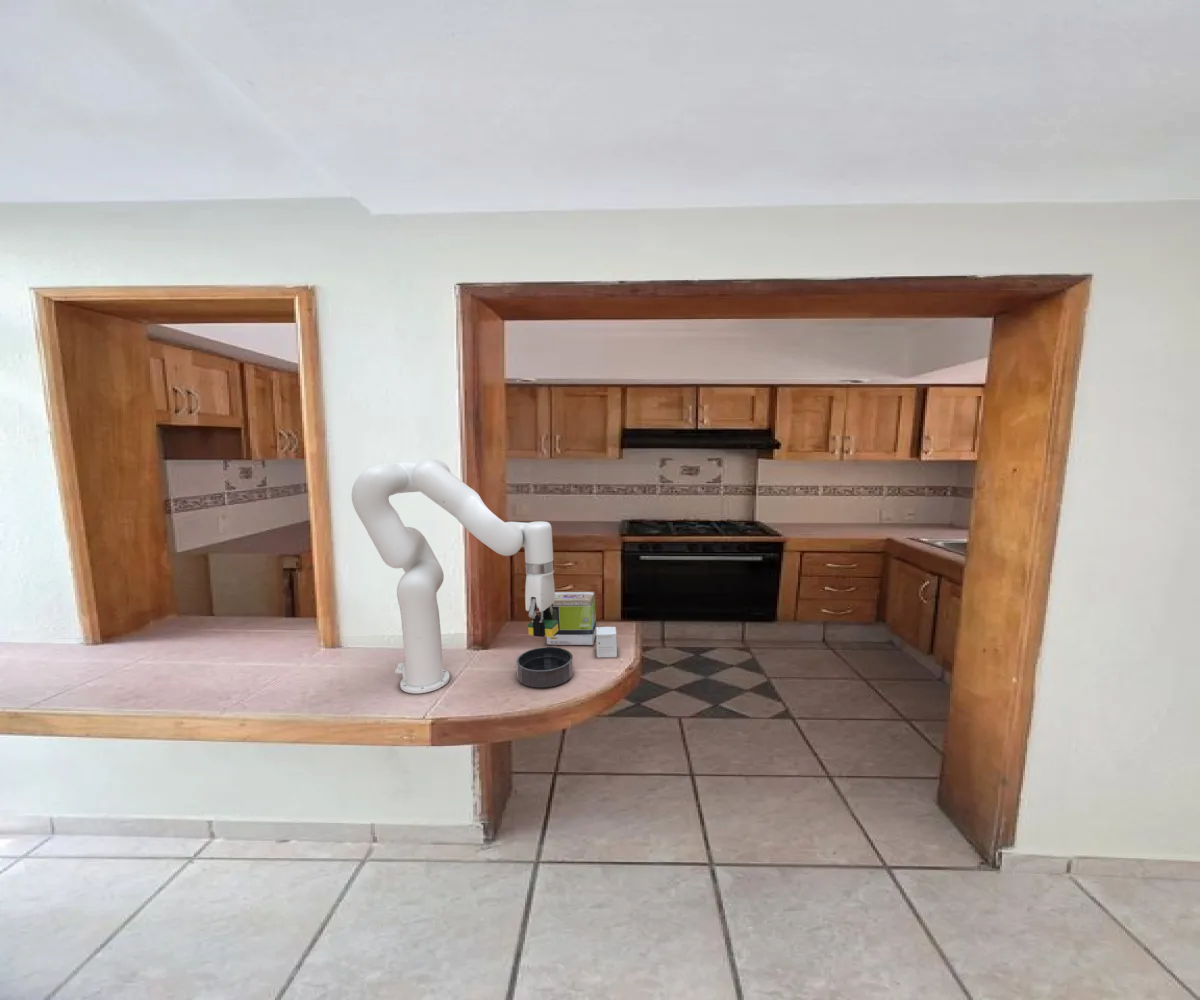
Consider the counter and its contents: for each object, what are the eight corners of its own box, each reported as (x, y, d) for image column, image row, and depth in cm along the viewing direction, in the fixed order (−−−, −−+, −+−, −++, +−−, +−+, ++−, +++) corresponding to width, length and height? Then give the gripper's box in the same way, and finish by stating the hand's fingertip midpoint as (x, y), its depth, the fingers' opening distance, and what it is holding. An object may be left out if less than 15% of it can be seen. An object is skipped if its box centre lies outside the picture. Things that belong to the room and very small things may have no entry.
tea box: (596, 634, 165) (595, 590, 163) (593, 646, 155) (591, 600, 153) (552, 633, 166) (550, 590, 165) (545, 645, 156) (543, 600, 155)
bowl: (507, 685, 131) (506, 667, 131) (532, 660, 146) (531, 644, 145) (560, 692, 127) (559, 674, 126) (580, 666, 141) (580, 650, 140)
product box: (596, 658, 146) (595, 634, 146) (596, 649, 152) (595, 626, 152) (617, 657, 146) (616, 633, 146) (616, 648, 152) (615, 625, 152)
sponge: (528, 635, 135) (527, 624, 135) (535, 628, 139) (534, 618, 139) (552, 637, 133) (551, 626, 133) (558, 630, 137) (557, 620, 137)
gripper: (540, 559, 143) (543, 620, 145) (512, 575, 127) (516, 643, 129) (564, 560, 141) (567, 622, 143) (539, 576, 125) (543, 646, 127)
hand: (543, 631), depth 136 cm, fingers closed on sponge, 4 cm apart
